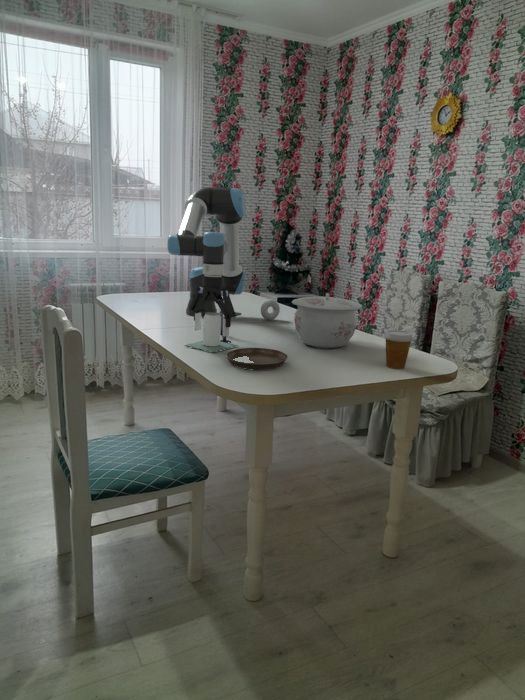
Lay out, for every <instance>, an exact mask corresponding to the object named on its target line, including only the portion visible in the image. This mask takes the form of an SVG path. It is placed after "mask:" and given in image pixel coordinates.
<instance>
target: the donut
mask: <svg viewBox="0 0 525 700" xmlns="http://www.w3.org/2000/svg"><path fill="white" fill-rule="evenodd" d="M270 307H271V308H272V311H271V312H270V313H269V311H268V310H269V308H270ZM280 307H281V306H280V304H279V303H278V302H277V301H276V300H274V299H267V300H265V301H264V302H263V303H262V304H261V306H260V314H261V316H262V318H263V319H264V320H267V321H272V320H275V319H276V318H277V317H278V316H279V314H280V310H281V309H280Z"/></svg>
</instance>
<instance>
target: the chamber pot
mask: <svg viewBox="0 0 525 700" xmlns="http://www.w3.org/2000/svg"><path fill="white" fill-rule="evenodd" d="M291 303H292V304H293V305H294V306H297V310H296V311H295V313H294V316H293V317H294V320H293V321H294V325H295V326H294V328H295V332H296V333H297V335H298V336H299V338H300V340H301V341H302V343H304V344H305V345H307V346H309V347H313V348H317V349H325V350H326V349H329V350H330V349H337V348H341V347H344V346H345V345H347V344H348V342H349V341H350V340H351V339H352V337H353V336H354V334H355V331H356V329H357V324H358V315H357V314H356V311H357V310H360V309H362V307H363V305H362V304H360V303H358V302H357V301H354V300H350V299H346V298H341V297H332V296H330V293H329V292H326V293H325V296H305V297H298V298H295V299H293V300H292V301H291Z"/></svg>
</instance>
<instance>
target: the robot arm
mask: <svg viewBox="0 0 525 700" xmlns="http://www.w3.org/2000/svg"><path fill="white" fill-rule="evenodd" d="M205 216H215V220H216V221H217V223H219V232H217V231H206V232H204V233H203V235H198V233H199V230H200V227H201V224H202V220H203V218H204V217H205ZM244 217H246V199H245V194H244V191H243V190H242V189H241V188H234V187H231V188H230V187H211V186H207V187H203V188H202V187H201V188H199V189H198V190H195V191H194V192H193V193H191V194H190V195H189V196H188V198H187V200H186V201H185V204H184V213H183V216H182V220H181V222H180V225H179V227H178V230H177V233H175V234H169V235H168V238H167V252H168V254H170V255H173V256H178V257H179V256H183V257H185V256H188V257H189V256H190V257H202V266H198V267H193V268H192V269H191V270H190V274H189V275H190V276H189V284H190V285H189V300H188V303H187V306H186V308H185V314H186V315H187V316H192V317H193V321H194V331H200V330H202V317H204V316H205V313H206V312H216V313H218V309H217V306H218V308H219V310H220V309H221V311H222V313H223V316H225V318H223V336H227V337H228V336H229V335H230V328H231V325H232V324H231V323H232V318H235V317H237V316H236V314H235V312H236V311H235V308H234V306H233V305H234V304H233V303H232V301H231V295H232V296H234V295H241V294H243V291H244V284H245V278H246V271H245V270H243V267H242V266H241V265H240V231H239V229H240V228H239V227H240V222H241V221H242V220H243V218H244ZM216 304H217V306H216Z"/></svg>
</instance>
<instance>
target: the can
mask: <svg viewBox="0 0 525 700" xmlns="http://www.w3.org/2000/svg"><path fill="white" fill-rule="evenodd" d="M202 326H203V328H202V329H203V331H202V333H203V334H202V341H203V345H204V346H207V347H217V346H219V345H220V340H221V336H220V335H221V317H220V313H219V312H217V313H216V312H206V313H205V316H203V325H202Z"/></svg>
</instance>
